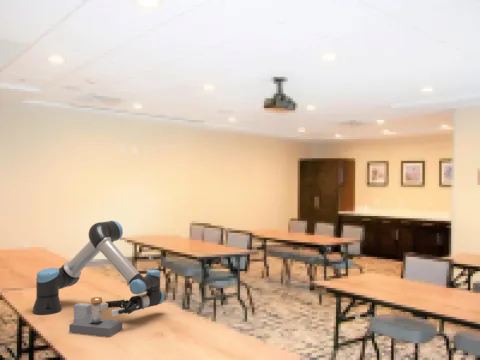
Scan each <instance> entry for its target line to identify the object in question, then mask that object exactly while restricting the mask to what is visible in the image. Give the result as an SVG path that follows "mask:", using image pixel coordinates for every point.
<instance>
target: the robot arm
mask: <svg viewBox="0 0 480 360" xmlns="http://www.w3.org/2000/svg"><path fill="white" fill-rule="evenodd" d="M123 231H124V230H123V226H122V225H121V223H120V222H118V221H116V220H109V221H100V222H95V223H94V224H93V225H91V226H90V228H89V230H88V240H89V241H88V242H87V243H86V245H84V246H83V248H81V249H80V250H79V252H78V253H76V255H75V256H74V257H73V258H72V259H71V260H70V261H66V262H64V263H63V265H61V267H59V268H58V267H48V268H43V269H41V270H39V271H38V272H37V274H36V278H35V280H36V282H35V283H36V291H35V292H36V294H35V295H36V298H35V302H34V304H33V307H32V313H33V314H35V315H52V314H56V313H59V312H61V311H62V309H63V308H62V307H63V305H62V303H61V300H60V295H59V293H60V290H61V289H65V288H68V287H72V286H74V285H75V284H77V283H78V282H79V280H80V278H81V274H82V271H83V269H85V268H86V267H87V265H89V263H90V262H91V261H92V260H94V258H95V257H96V256H98V254H100V253H101V254H102V256H104V257H105V258H106V259H107V260H108V261H109V263H110V264H111V265H112V266H113V267H114V269H115V270H116V271H117V272H118V273H119V274H120V275H121V276H122V277H123V278H124V280H125V281H126V282H128V284H129V291H130V293H131V294H134V295H132V296H131V297H130V298H129V300H128V299H127V300H125V299H120V300H111V301H110V300H107V301H105V303H101V311H103V310H106V309H107V310H108V309H110V308H111V309H112V308H115V309H113V310H111V317H115V316H119V315H122V314H128V315H130V314H132V313H134V312H135V311H140V310H145V309H147V308H150V307H154V306H158V305H161V304H163V303H164V301H165V297H166V296H165V293H164V292H163V291H162V290H161V271H160V270H159V269H149V270H147V271H146V274H145V276H143V275H142V274H141V273H140V272H139V270H137V268H136V267H135V266H134V265H133V264H132V262H130V261H129V259H128V258H127V257H126V256H125V255H124V254H123V253H122V252H121V251H120V249H119V248H118V247H117V246H116V245H115V244H114V242H115V241H119V240H120V239H121V238H122V237H123V233H124V232H123Z"/></svg>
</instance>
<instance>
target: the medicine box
mask: <svg viewBox="0 0 480 360" xmlns="http://www.w3.org/2000/svg"><path fill="white" fill-rule="evenodd" d="M84 317H86V318H92V304H91V303H84V302H83V303H81V302H79V303H76V304H75V305H73V321H74V322H76V321H78V320H80V319H82V318H84Z"/></svg>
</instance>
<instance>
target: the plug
mask: <svg viewBox="0 0 480 360" xmlns="http://www.w3.org/2000/svg"><path fill="white" fill-rule="evenodd" d="M90 304H91V318H92V324H94V325H99V324H101V319H102V317H101V314H102V313H101V311H102V310H101V304H103V297H101V296H99V297H98V296H95V297H91V299H90Z"/></svg>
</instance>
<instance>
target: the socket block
mask: <svg viewBox="0 0 480 360" xmlns="http://www.w3.org/2000/svg"><path fill="white" fill-rule="evenodd" d="M123 324H124V323H123V320H114V319H106V318H105V319H104V318H101V324H99V325H94V324H92V317H91V318H86V317H84V318H82V319H80V320H78V321H74V322H71V323H70V324H69V325H68V326H69V330H68V331H69V332H72V333H71V334H76V333H80V334H79V335H85V334H88V335H87V336H94V335H96V337H103V336H105V338H111V337H112V336H114V335H116V333H118V332H120V331H123Z"/></svg>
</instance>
